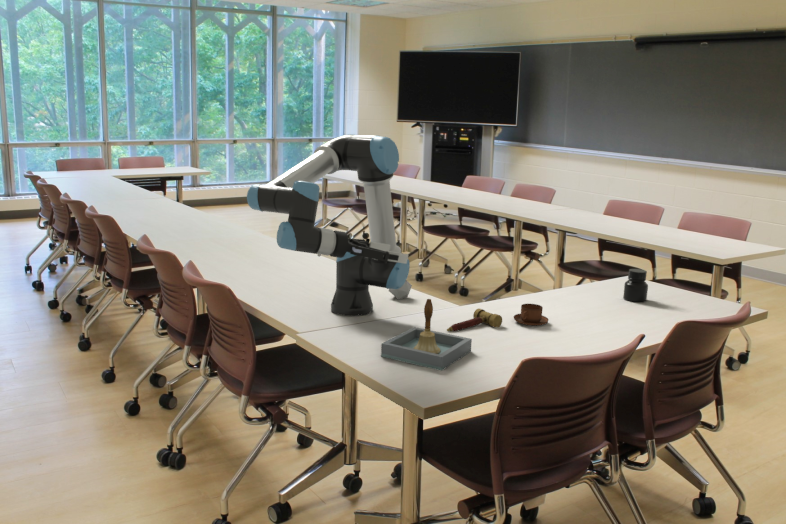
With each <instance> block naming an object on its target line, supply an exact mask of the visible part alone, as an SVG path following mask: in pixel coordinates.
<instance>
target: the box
mask: <svg viewBox="0 0 786 524" xmlns="http://www.w3.org/2000/svg"><path fill="white" fill-rule="evenodd" d="M424 331H425V328H421V327H416V326H414V327H411V328H410V329H407V330H406V331H404V332H401V333H400V334H398V335H395V336H393V337H391V338H389V339H387V340H385V341H384V342H381V345H380V347H381V348H380V349H381V350H380V352H381V353H380V356H381V357H382V358H385V359H386V358H387V359H390V358H391V360H395V361H399V362H402V363H408V364H412V365H416V366H419V367H425V368H428V369H433V370H436V371H437V370H438V371H440V372H441V371H443V370H445V369H446V368H448V367H449V366H450V365H452V364H455V362H457V361H459V360H460V359H462V358H463V357H465V356H466V355H468V354H469V353H471V352H472V338H470V337H464V336H460V335H454V334H452V333H451V334H450V333H445V332H440V331H435V330H431V329H430V331H431V332H433V333H434V334H435V341H436V344H437V346H438V347H439V348H440V350H441V351H440V353H438V354H435V353H431V352H426V351H422V350H417V349H413V348H414V347H415V346H416V345H417V344H418V341H419V337H420V333H421V332H424Z"/></svg>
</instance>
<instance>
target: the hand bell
mask: <svg viewBox="0 0 786 524" xmlns="http://www.w3.org/2000/svg"><path fill="white" fill-rule="evenodd" d="M423 309H424V310H423V314H424V319H425V323H424V329H425V331H424V332H421V333H420V337H419V341H418V344H417V345H416V346H415V347H414V348H413V349H417V350H422V351H426V352H431V353H435V354H438V353H440V351H441V350H440V348H439V347H438V346H437V344H436V341H435V334H434V333H433V332H431V331H430V330H431V329H432V327H431V319H432V316H433V311H434V307H433V302H432V299H431V298H427V299H426V302H425V305H424V308H423Z"/></svg>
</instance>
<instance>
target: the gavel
mask: <svg viewBox="0 0 786 524" xmlns="http://www.w3.org/2000/svg"><path fill="white" fill-rule="evenodd" d="M472 316H473V318H469V319H468V320H464V321H460V322H457V323H453V324H452V325H450V326H449V327H447V329H446V332H458V330H459V331H463V330H465V329H469V328H473V327H475V326H479V325H481V324H482V323H483V324H486V325H489V326H490V327H492V328H500V327H501V325H502V324H503V317H502V315H501V314H500V315H499V314H497V313H491V312H488V311H486V310H485V309H482V308H476V309H475V310H474V312H473V315H472ZM462 329H463V330H462Z"/></svg>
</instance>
